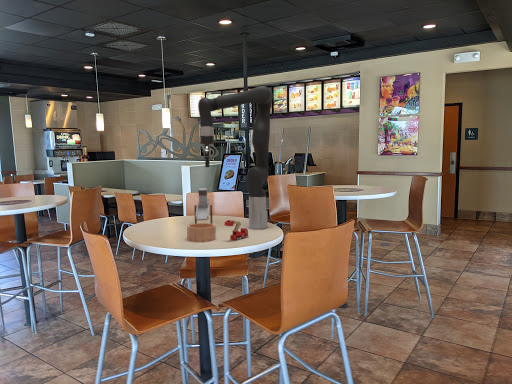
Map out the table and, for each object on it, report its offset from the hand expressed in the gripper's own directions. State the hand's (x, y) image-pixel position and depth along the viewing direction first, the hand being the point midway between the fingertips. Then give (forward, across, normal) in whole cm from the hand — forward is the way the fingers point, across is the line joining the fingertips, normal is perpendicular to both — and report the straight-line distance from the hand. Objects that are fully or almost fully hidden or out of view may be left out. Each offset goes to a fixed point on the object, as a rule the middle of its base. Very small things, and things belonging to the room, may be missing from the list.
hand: (207, 167), depth 211 cm
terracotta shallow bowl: (+33, +32, -2) cm, 46 cm away
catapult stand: (+33, +16, -2) cm, 37 cm away
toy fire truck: (+33, +34, +15) cm, 50 cm away
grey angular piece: (+23, +17, -1) cm, 28 cm away
